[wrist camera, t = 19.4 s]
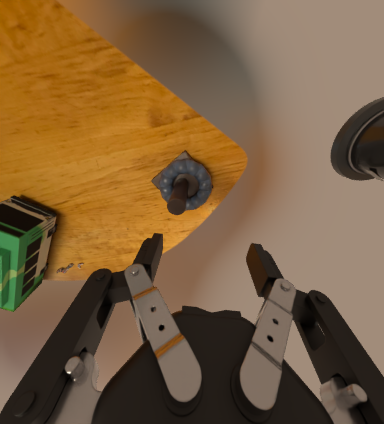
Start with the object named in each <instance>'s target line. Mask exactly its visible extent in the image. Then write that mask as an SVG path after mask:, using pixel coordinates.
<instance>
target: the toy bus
mask: <svg viewBox="0 0 384 424" xmlns="http://www.w3.org/2000/svg"><path fill="white" fill-rule="evenodd" d="M55 220H56V214H55V213H53V212H51V211H48V210H46V209H44V208H42V207H39V206H37V205H35V204H32V203H30V202H28V201H25V200H23V199H21V198H19V197H16V196H12V197H11V198H10V199H8V200H5V201H3V202H0V308H1V309H5V310H9V311H13V312H14V311H15V310H16V309H17V308H18V307H19V306H20V305H21V304H22V302H24V301H25V299H26V298H27V297H28V296H29V295H30V294H31V293H32V292H33V291H34V290H35V289H36V288H37V287H38V286H39V285H40V284H41V283H42V280H43V275H44V271H45V270H46V269H47V268H48V263H46V261H47V256H48V252H49V247H50V242H51V237H52V234H53V233H54V232H56V227H57V224H55Z"/></svg>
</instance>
